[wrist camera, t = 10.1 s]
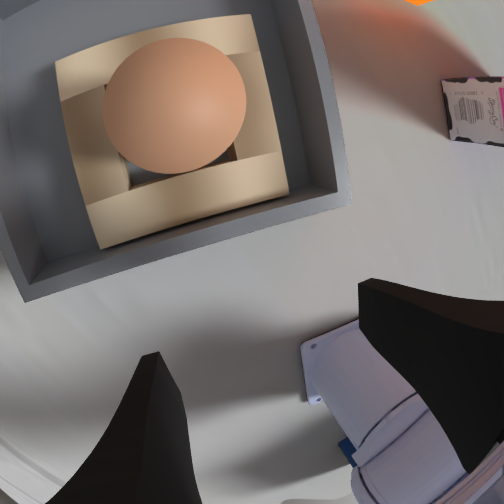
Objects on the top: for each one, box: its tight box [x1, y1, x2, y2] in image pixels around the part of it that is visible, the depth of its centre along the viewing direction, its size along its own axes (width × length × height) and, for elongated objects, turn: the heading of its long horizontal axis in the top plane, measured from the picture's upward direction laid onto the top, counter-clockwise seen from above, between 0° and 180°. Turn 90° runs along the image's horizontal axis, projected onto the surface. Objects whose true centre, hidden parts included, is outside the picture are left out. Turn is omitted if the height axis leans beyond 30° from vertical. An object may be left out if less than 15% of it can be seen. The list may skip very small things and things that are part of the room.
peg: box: [103, 38, 246, 174], centre depth 11 cm, size 4×4×8 cm
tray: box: [0, 0, 352, 303], centre depth 12 cm, size 18×18×4 cm
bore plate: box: [55, 14, 289, 250], centre depth 13 cm, size 10×10×2 cm
